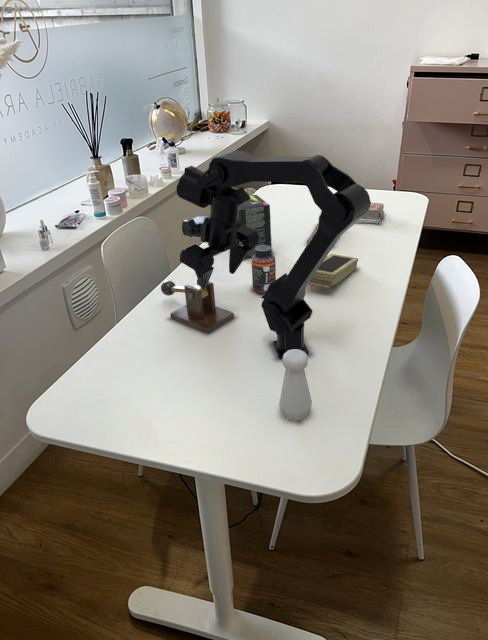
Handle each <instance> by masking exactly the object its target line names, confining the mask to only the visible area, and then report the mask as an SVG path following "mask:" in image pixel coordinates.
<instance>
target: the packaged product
mask: <svg viewBox="0 0 488 640" xmlns="http://www.w3.org/2000/svg"><path fill="white" fill-rule="evenodd" d="M384 206H385V204H384V203H381V202H371V205H370V208H369V210H368V211H367V212H366V213H365V214H364V215H363V216H362V217H361V218H360V219H359V220H358V221H357V222H356V223H355V224H361V223H363V224H373V225H379V224H380V223H381V222H382V220H383V217H384V215H385V210H384V208H385V207H384Z"/></svg>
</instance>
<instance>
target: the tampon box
mask: <svg viewBox="0 0 488 640" xmlns="http://www.w3.org/2000/svg"><path fill="white" fill-rule="evenodd" d="M249 196H250V200H248V201H246V202H245V203H243V204H241V205H240V206H239V214H238V221H240V222H242V224H244V225H246V226H247V227H249V228H251V229H253V230H255V231H257V233H258V235H259V241H258V244H257V245H255V246H254V249H252V250H251V251H250V253H249V254H248V255H247V257H246V258H245V259H249V258H252V257H253V255H255V254H256V253H255V248H256V247H257V246H260V245H268V246H270V247H271V251H272V252H273V249H272V247H273V246H272V225H271V224H272V223H271V222H272V221H271V205H270V203H268V202H266V200H264V199H263V198H262V197H260V196H259V195H258V194H252V195H251V194H250V195H249Z"/></svg>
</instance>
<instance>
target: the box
mask: <svg viewBox="0 0 488 640" xmlns="http://www.w3.org/2000/svg"><path fill="white" fill-rule="evenodd" d="M358 262H359V258H358V257H353V256H349V255H348V256H347V255H342V254H336V253H329V254H328V255H327V257H326V258H325V260H324V261H323V262H322V264H321V265H320V267H319V268H318V270H317V271H316V273H315V274H314V275H313V277H312V278H311V280H310V281H309V283H308V284H307V285H309V286H313V287H314V286H315V287H319V288H320V287H321V288H325V289H331V287H334V286H335V285H336V284H338V283H339V282H341V281H342V280H344V279H345V278H346V277H347V276H349V275H350V274H352V273H353V272H354V271H356V270H357V268H358V267H357V266H358Z"/></svg>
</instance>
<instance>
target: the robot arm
mask: <svg viewBox="0 0 488 640" xmlns="http://www.w3.org/2000/svg"><path fill="white" fill-rule="evenodd" d="M208 164H209V165H208V169H207V170H206V171H202V170H200V169H199V168H197V167H195V166H193V165H190V166H187V167H184V172H183V174H182V175H181V177H180V178H179V181H178V182H177V183H178V184H176V194H177V196H178V198H180V199H181V200H184V201H186V202H189V203H190V204H193V205H195V206H197V207H199V208H202V209H205V208H207V207H208V206H210V207H209V215H208V216H207V215H199V216H196V217H194V218H191V219H190V218H186V219H184V220H182V224H181V231H182V234H183V235H184V236H185V237H189V238H193V237H195V238H200V242H202V243H204V244H206V243H207V247H204V248H203V247H201V246H200V245H198V244H196V243H195V244H193V245H192V244H191V246H188V247H186V248H184V249H181V251H180V252H179V263H182V264H183V265H185V266H187V267H188V268H190V269H192V270H193V271H194V273H195V276H196V278H197V279H198V281H199V284H200V287H201V288H202V289H206V287H207V285H208V282H210V279H211V277H212V274H213V272H214V270H215V267H214V264H215V258H214V257H216V256H218V255H220V254H222V253H225V252H227V251H229V260H228V272H229V274H231V275H234V274H235V273H236V271H237V270H238V269H239V267H240V266H241V264H242V263H244V261H245V259H247V258H246V257H247V255H248V254H249V253H250V251H251V250H252V249H254V246H255V245H257V244H258V241H259V235H258V233H257V231H255V230H253V229H251V228H249V227H247V226H246V225H244V224H242V222H240V221H238V214H239V206H240V205H241V204H243V203H245V202H246V201H248V200H250V196H251V195H250V194H249V193H248V192H247V191H246V190H245V188H244V187H243V186H242V187H239V188H236V187H237V186H240V185H245V184H247V183H252V182H256V183H257V182H258V183H259V182H261V183H263V182H264V183H303V185H305V186H306V188H307V189H308V192H309V193H310V196H311V199H312V200H313V203H314V204H315V205H316V206H317V207H318V208H319V209H320V213H319V216H318V222H317V224H318V228H317V230H316V232H315V233H314V235H313V237H312V238H311V240H310V241H309V243H308V244H307V243H306V246H305V248H304V249H303V251H302V252H301V254H300V255H299V257H298V258H297V260H296V261H295V263H294V265H293V266H292V267H291V269H290V270H289V273H288V274H287V273H284V274H282V275H281V276H279V277H278V278H276V280H275V281H274V282H272V283H271V284H270V285H269V287H268V289H267V292H266V294H262V296H261V299H262V301H261V305H260V306H261V308H262V311H263V314H264V317H265V320H266V322H267V326H268V328H269V330H270V331H272V332H274V333H275V334H276V340H273V341H272V345H273V348H274V350H275V353H276V356H277V358H278V359H279V360H281V359H282V360H283V355H284V353H286V352H287V351H288V350H291V349H299V350H302V351H304V352H305V353H306V354H307V356H309V353H310V352H309V349H308V347H307V345H306V344H305V322H306V321H308V320H310V319H311V317H312V315H313V312H314V311H313V309H312V308H311V307H310V305H309V304H308V303H307V301H306V300H305V296H306V293H307V286H308V285H309V284H308V283H309V281H310V280H311V278H312V277H313V275H314V274H315V273H316V271H317V270H318V268H319V267H320V265H321V264H322V262H323V261H324V260H325V258H326V257H327V256H329V255H330V253H331V251H332V250H333V248H334V247H335V245H336V244H337V242H338V241H339V239H340V238H341V237H342V235H344V234H345V233H346V232H347V231H349V229H350V228H351V227H353V226H355V224H357V223H356V222H357V221H358V220H359V219H360V218H361V217H362V216H363V215H364V214H365V213H366V212H367V211H368V210H369V208H370V205H371V203H372V201H371V196H370V194H369V192H368V190H366V189H365V187H364V186H362V185H360V184H358V183H357V182H356V180H354V179H353V178H352V176H350V175H349V174H348V173H346V172H344V171H343V170H341V169H340V168H338V167H336V166H334V165H333V164H332V163H331V162H330V161H329V160H328V158H326V157H325V156H324V155H320V154H316V155H313V156H257V155H254V154H252V153H250V152H248V151H242V150H231V151H229V152H226V153H224V154H220V155H217V156H215V157H213V158H211V159H210V161H209V163H208ZM330 188H331V189H332V190H334V191H336V192H333V191H332V190H331V189H330Z"/></svg>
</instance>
